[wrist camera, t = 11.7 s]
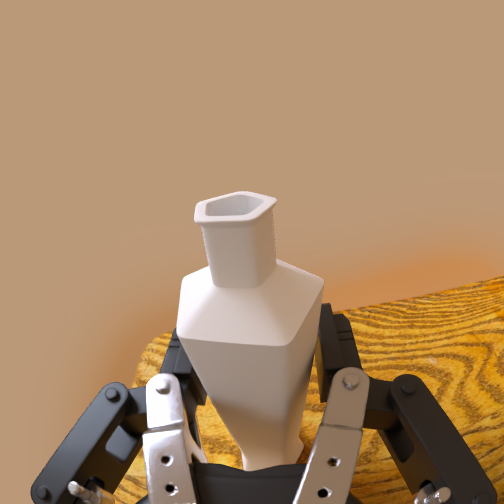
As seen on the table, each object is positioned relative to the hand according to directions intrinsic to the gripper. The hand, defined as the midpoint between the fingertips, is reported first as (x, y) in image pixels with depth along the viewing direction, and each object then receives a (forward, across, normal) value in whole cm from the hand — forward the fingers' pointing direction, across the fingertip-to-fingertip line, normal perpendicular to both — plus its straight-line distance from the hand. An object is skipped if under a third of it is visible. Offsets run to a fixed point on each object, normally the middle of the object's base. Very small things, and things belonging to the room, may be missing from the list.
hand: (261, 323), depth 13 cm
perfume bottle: (-3, 0, +9) cm, 9 cm away
